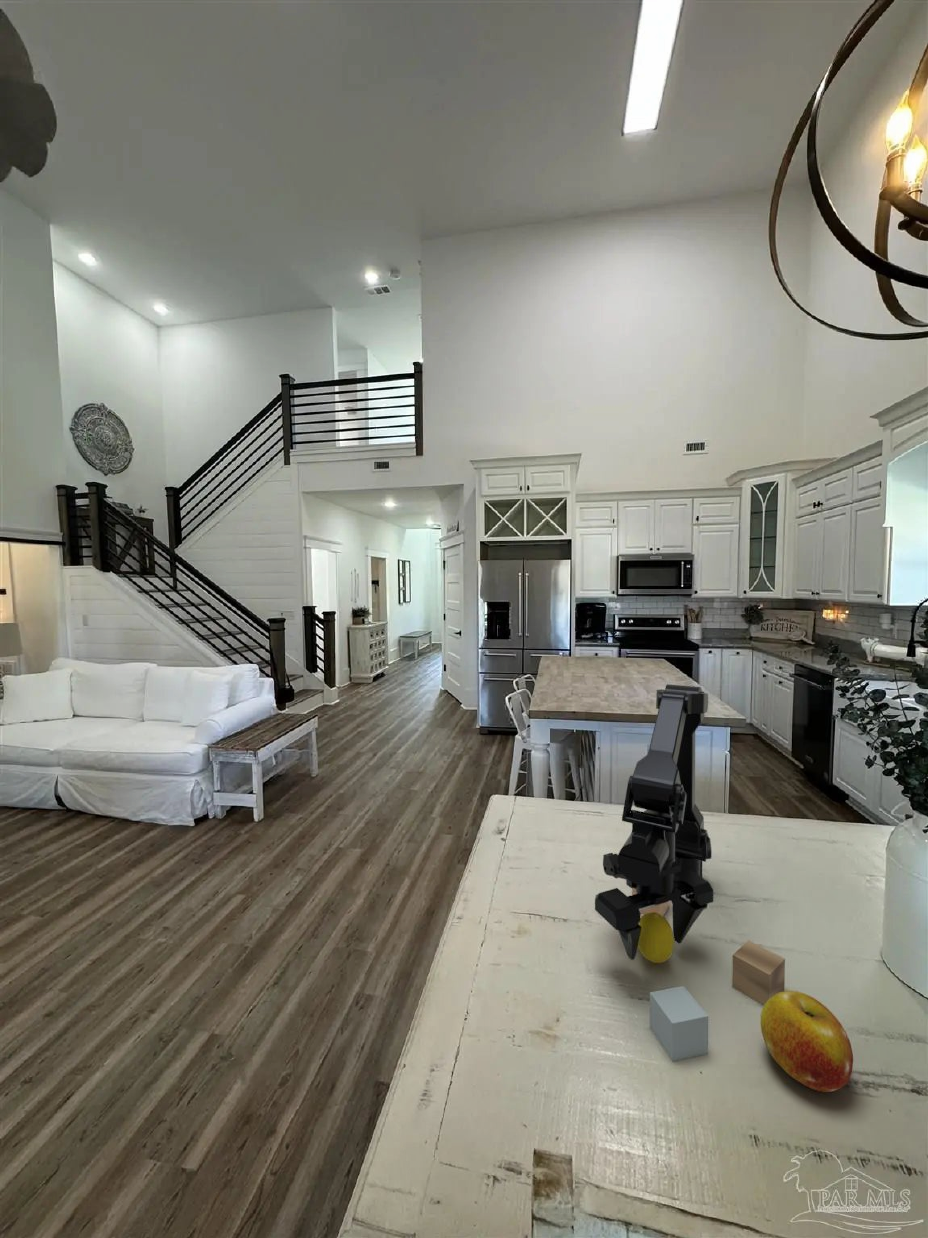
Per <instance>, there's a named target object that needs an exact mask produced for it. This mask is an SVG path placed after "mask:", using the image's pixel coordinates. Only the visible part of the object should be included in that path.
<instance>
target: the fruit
mask: <svg viewBox="0 0 928 1238" xmlns="http://www.w3.org/2000/svg"><path fill="white" fill-rule="evenodd" d="M760 1032H761V1035H762V1037H763V1038H762V1039H763V1041H764V1044H765V1046H766V1048H767V1049H768V1052H769V1053H770V1055H771V1057H772V1058H773V1059H774V1060H775V1062H776V1063H777V1064H778V1065H779V1066H780V1067H781V1069H783V1071H785V1073H786V1074H788V1075H789V1076H790V1077H792V1078H793V1079H794V1080H795V1081H797V1082H799V1083H800V1084H801V1085H803V1086H805V1087H807V1088H810V1089H812V1090H815V1091H818V1092H824V1093H826V1092H827V1093H831V1092H835V1091H838V1090H840V1089H843V1087H844V1086H845V1085H846V1084H848V1082H849V1080H850V1079H851V1076H852V1073H853V1067H854V1065H853V1064H854V1053H853V1048H852V1044H851V1041H850V1038H849V1036H848V1033H847V1032H846V1030H845V1028H844V1027H843V1025H842V1023H841V1022H840V1020H838V1018H837V1017H836V1016H835V1014H834V1013H833V1011H831V1010H830V1009H829V1008H828V1007H827V1006H825V1004H823V1003H822V1002H821V1001H819V1000H818V999H816V998H814V997H813V996H811V995H808V994H806V993H803V992H801V991H797V990H796V991H795V990H784V991H783V992H779V993H777V994H775V995H774V996H772V997H771V998H769V999H768V1001H767V1002H766V1003H765V1005H764V1006H763V1005H762V1010H761V1013H760Z"/></svg>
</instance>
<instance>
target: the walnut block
mask: <svg viewBox="0 0 928 1238" xmlns="http://www.w3.org/2000/svg"><path fill="white" fill-rule="evenodd" d="M731 968H732V970H731V971H732V974H731V975H732V977H731V978H732V979H731V980H732V981H731V982H732V983H731V984H732V985H731V987H732V988H734V989H735V990H737V991H738V992H740V993H742V994H743V995H745V996H747V997H748V998H750V999H752V1000H753V1001H755V1002H757V1003H758V1004H760V1005H761V1006H762V1007H763V1006H764V1005H765V1003H766V1002H767V1001H768V999H769V998H771V997H772V996H774V995H775V994H777V993H779V992H783V991H785V980H786V979H785V978H786V976H785V975H786V974H785V973H786V958H784V957H782V956H780V955H778V954H776V953H774V952H772V951H770V950H768V949H766V948H764V947H763V946H761V945H759V944H757V943H755V942H753V941H751V940H749V939H748V940H747V941H746V942H745V943H744V944H743V945H741V947H740V948H737V950H736V951H735V952H733V954H732V967H731Z"/></svg>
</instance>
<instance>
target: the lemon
mask: <svg viewBox="0 0 928 1238" xmlns="http://www.w3.org/2000/svg"><path fill="white" fill-rule="evenodd" d="M638 924H639V925H640V926H641V927H642V928H641V933H640V938H639V943H638V948H637V949H639V952H640V953H641V954H642V956H643V957H644V958H645V959H646V960H648V961H650V962H652V963H653V964H661V963H664V962H666V961H668V960H669V958H671V956H672V954H673V951H674V946H675V944H674V943H675V940H674V934H673V928H672V925H670V923H669V921H668V920H667V918H665V917H664V915H663V916H661V915H660V914H658V913H655V912H651V913H646V914H642V916H640V922H639V923H638Z"/></svg>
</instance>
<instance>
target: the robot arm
mask: <svg viewBox="0 0 928 1238" xmlns="http://www.w3.org/2000/svg"><path fill="white" fill-rule="evenodd" d="M702 690H703V689H702V687H701V686H691V685H679V684H678V685H677V684H666V686H665V688H664V689H662V688H661V689H656V697H655V698H656V701H655V709H656V710H658V712H657V715H656V719H655V724H654V727H653V732H652V735H651V740H650V743H649V749H648V750H647V751H648V752H647V754H646V755H645V756H643V757H642V758H641V759H639V760H638V761H637V762H636V764H635V768H634V769H633V770H634V771H633V774H632V775H630V776H629V778H628V781H627V788H626V790H625V791H626V792H625V799H624V803H623V811H622V817H621V820H622V822H625V823H630V824H631V827H632V828H631V833H630V835H629V836H628V838H627V839H626V841H625V842H624V844H623V845H622V847H621V848H620V850H619V853H613V852H608V853H605V854H603V857H602V866H603V871H604V874H605V875H607V876H609V877H613V878H614V879H618V878H619V879H623V880H625V881H626V882H625V884H626V886H628V887H629V888H630V889H632V888H635V889H636V893H637V894H635V895H632V894H631V895H628V896H627V894H625V893H624V892H623V891H621V890H620V889H619V888H618V887H615V888H612V889H608V890H605V891H602V892H599V893H597V894H595V898H594V910H595V911H596V912H597V913H598V914H599V916H601V917H602V918H603V919H604V920H605V921H606V922H607V923H608V924H609V925H610V926H611V927H612V928H613V929H614V930H616V931H617V932H618V933H619V936H620V938H621V941H622V944H623V946H624V949H625V952H626V954H627V957H628V958H629V959H630V960H632V961H634V960H635V959H636V956H637V952H638V949H639V948H638V943H639V938H640V933H641V928H642V927H641V926H640V925H639V924H638V923H639V922H640V918H641V913H640V911H641V910H644V909H647V908H650V907H654V906H657V905H660V904H663V903H667V902H668V901H669V902H670V901H671V907H672V933H673V938H674V942H676V943H677V944H681V943H683V941H684V939H685V938H686V936H687V934H688V933H689V931H690V930H691V928H692V926H693V925H694V923H695V922H696V920H697V919H698V918H699V917H700V915H701V914H702V912H703V911H704V910H706V909H708V904H710V903H711V904H712V903H714V887H712V884H711V883H710V882H709V881H708V880H707V879H705V878H703V862H704V863H706V862H707V860H710V859H712V853H713V852H712V850H713V849H712V843H711V842H712V840H711V838H710V837H709V834H708V830H707V829H705V818H704V816H703V814H702V812H701V811H700V809H699V808H698V806H697V804H696V730H697V729H698V727H699V726H700V725H701V723H702V721H703V720H704V719H705V713H708V709H709V694H708V693H707V692H706V693H705V691H702ZM633 804H634V806H635V808H638V809H643V810H644V811H639V810H636V809H632V807H633Z"/></svg>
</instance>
